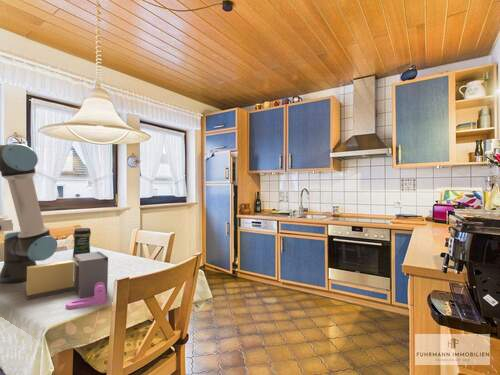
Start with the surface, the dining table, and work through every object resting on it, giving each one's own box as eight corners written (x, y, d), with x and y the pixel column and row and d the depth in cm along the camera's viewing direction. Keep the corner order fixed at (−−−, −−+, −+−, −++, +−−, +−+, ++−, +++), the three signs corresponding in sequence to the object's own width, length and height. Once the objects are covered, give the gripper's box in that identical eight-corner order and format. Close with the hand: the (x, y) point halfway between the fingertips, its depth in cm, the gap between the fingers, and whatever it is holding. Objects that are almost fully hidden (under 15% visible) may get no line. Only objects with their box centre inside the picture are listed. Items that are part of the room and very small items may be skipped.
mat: (25, 291, 115) (25, 290, 115) (74, 282, 127) (74, 280, 127) (27, 300, 106) (27, 298, 106) (80, 289, 118) (80, 287, 118)
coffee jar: (72, 258, 169) (72, 229, 169) (73, 255, 176) (74, 227, 176) (90, 257, 174) (90, 228, 174) (90, 254, 181) (91, 226, 181)
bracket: (104, 298, 110) (104, 281, 110) (105, 303, 105) (105, 285, 105) (66, 304, 103) (66, 286, 103) (65, 310, 98) (65, 291, 98)
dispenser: (72, 288, 119) (72, 254, 119) (98, 283, 126) (99, 251, 126) (78, 298, 109) (79, 261, 109) (107, 292, 116) (108, 257, 116)
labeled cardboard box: (26, 292, 112) (27, 266, 112) (71, 284, 123) (72, 260, 123) (27, 295, 109) (27, 268, 109) (73, 286, 120) (74, 261, 120)
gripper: (-64, 236, 102) (11, 230, 117) (-77, 247, 84) (13, 238, 98) (-63, 216, 102) (11, 213, 117) (-77, 223, 84) (13, 218, 98)
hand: (12, 224), depth 107 cm, fingers open, 13 cm apart
